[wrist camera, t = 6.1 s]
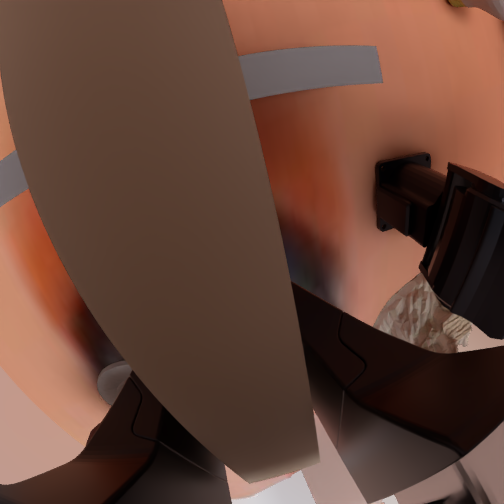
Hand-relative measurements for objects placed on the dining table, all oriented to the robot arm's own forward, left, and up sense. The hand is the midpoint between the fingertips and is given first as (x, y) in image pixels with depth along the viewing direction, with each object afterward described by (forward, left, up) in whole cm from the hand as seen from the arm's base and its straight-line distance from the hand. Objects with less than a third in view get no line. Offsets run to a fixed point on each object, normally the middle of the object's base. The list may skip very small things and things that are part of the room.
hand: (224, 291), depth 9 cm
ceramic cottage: (-22, +24, -12) cm, 35 cm away
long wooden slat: (0, -6, -2) cm, 6 cm away
